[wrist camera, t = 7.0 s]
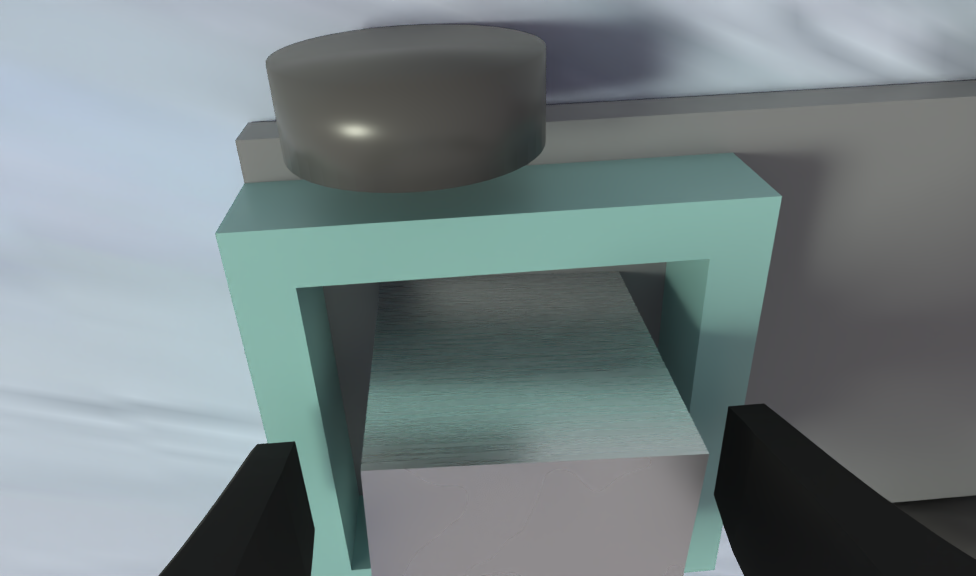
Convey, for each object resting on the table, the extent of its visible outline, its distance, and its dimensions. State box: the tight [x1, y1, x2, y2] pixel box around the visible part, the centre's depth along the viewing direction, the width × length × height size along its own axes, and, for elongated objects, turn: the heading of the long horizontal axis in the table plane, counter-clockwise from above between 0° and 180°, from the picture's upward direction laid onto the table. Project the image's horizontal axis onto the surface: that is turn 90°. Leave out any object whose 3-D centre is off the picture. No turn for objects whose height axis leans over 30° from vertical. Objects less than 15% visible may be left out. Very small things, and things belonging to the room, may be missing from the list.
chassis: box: [215, 24, 976, 576], centre depth 14 cm, size 13×18×4 cm
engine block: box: [361, 271, 709, 576], centre depth 12 cm, size 4×4×5 cm
